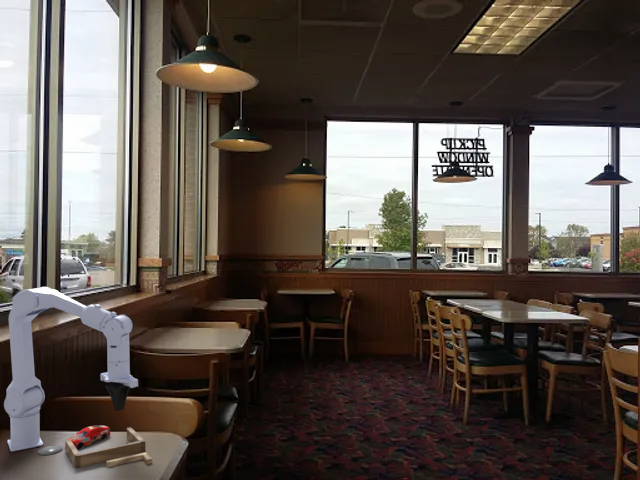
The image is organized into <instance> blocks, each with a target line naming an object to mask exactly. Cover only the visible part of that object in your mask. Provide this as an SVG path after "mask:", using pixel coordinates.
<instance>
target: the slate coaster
mask: <svg viewBox="0 0 640 480" xmlns="http://www.w3.org/2000/svg"><path fill="white" fill-rule="evenodd" d="M63 449H64V448H63V446H61V445H49V446H45V447H41V448H40V449H39V450H37V454H38V455H40V456H49V455H54V454H55V455H56V454H57V453H60V452H61V451H63Z"/></svg>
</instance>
